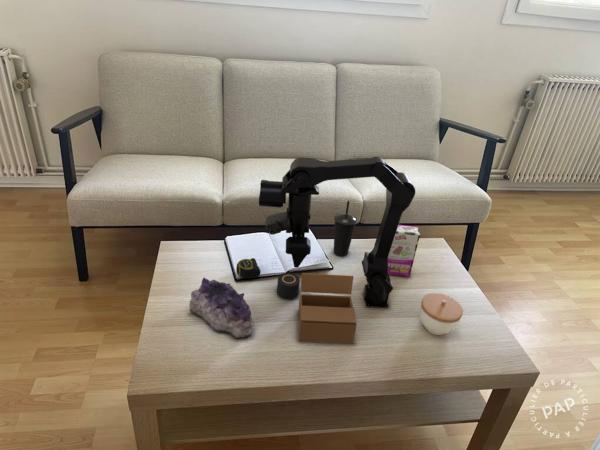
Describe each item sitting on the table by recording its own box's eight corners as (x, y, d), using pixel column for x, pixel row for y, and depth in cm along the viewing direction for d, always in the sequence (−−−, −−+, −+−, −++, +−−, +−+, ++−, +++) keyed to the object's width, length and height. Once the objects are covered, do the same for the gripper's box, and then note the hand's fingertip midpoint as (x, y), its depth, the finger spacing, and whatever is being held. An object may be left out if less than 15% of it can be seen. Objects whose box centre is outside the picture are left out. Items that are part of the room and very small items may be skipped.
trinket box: (449, 347, 108) (459, 321, 103) (410, 329, 112) (418, 303, 108) (459, 324, 116) (468, 298, 111) (422, 308, 121) (430, 283, 116)
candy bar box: (407, 268, 137) (418, 226, 129) (409, 277, 133) (421, 234, 125) (374, 264, 138) (383, 222, 130) (374, 273, 134) (384, 230, 125)
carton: (298, 341, 106) (301, 320, 102) (298, 311, 115) (300, 291, 112) (352, 343, 106) (357, 322, 103) (347, 314, 116) (351, 294, 112)
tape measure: (260, 279, 126) (261, 269, 125) (238, 282, 124) (238, 272, 122) (255, 266, 132) (256, 256, 130) (234, 268, 130) (234, 258, 128)
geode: (267, 322, 111) (267, 297, 105) (237, 351, 103) (234, 325, 97) (215, 287, 120) (211, 262, 114) (183, 311, 113) (178, 285, 107)
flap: (301, 273, 110) (301, 273, 110) (300, 292, 111) (300, 291, 112) (353, 276, 111) (353, 275, 111) (351, 294, 112) (351, 294, 113)
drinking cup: (326, 255, 140) (333, 203, 130) (333, 244, 146) (340, 193, 136) (348, 261, 138) (356, 209, 128) (354, 250, 144) (363, 199, 134)
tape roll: (298, 286, 125) (299, 272, 122) (298, 300, 119) (300, 286, 117) (277, 285, 125) (278, 271, 122) (276, 299, 119) (277, 285, 116)
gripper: (269, 190, 114) (268, 238, 122) (265, 224, 98) (264, 277, 106) (309, 191, 114) (306, 239, 122) (312, 226, 98) (308, 278, 106)
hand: (296, 257), depth 114 cm, fingers open, 9 cm apart
